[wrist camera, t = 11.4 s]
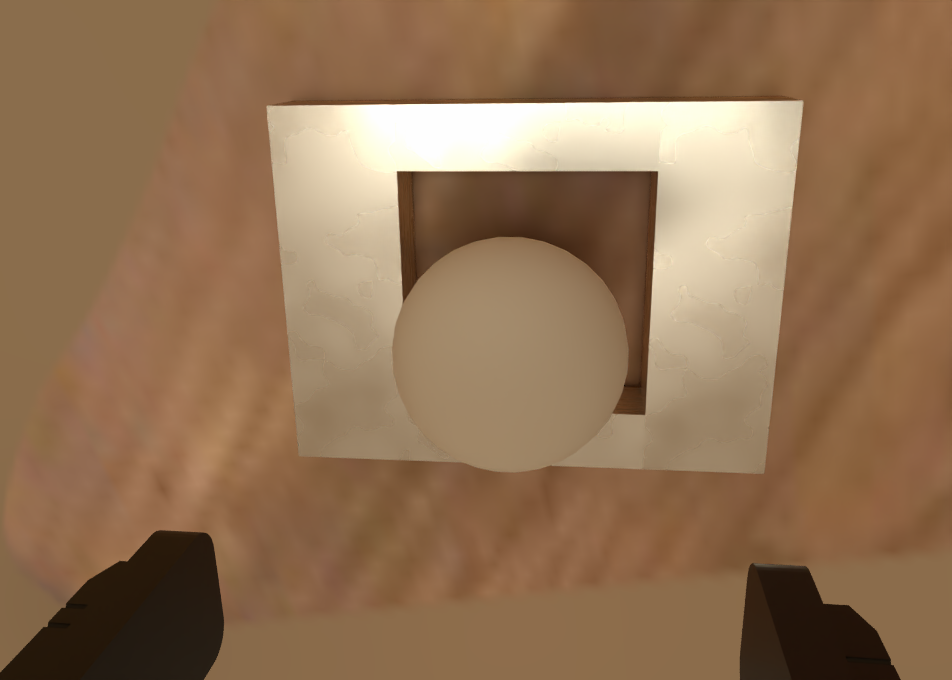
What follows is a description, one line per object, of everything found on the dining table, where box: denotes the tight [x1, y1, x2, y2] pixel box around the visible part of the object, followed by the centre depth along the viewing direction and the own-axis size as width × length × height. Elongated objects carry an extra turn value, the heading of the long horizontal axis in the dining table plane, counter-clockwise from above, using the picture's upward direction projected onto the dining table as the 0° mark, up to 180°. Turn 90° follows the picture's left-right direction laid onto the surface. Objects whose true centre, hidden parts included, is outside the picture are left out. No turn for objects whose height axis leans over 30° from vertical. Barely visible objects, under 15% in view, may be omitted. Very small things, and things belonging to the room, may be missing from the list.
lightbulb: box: [392, 237, 629, 472], centre depth 24 cm, size 6×6×11 cm
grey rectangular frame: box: [267, 96, 803, 474], centre depth 28 cm, size 16×12×2 cm
